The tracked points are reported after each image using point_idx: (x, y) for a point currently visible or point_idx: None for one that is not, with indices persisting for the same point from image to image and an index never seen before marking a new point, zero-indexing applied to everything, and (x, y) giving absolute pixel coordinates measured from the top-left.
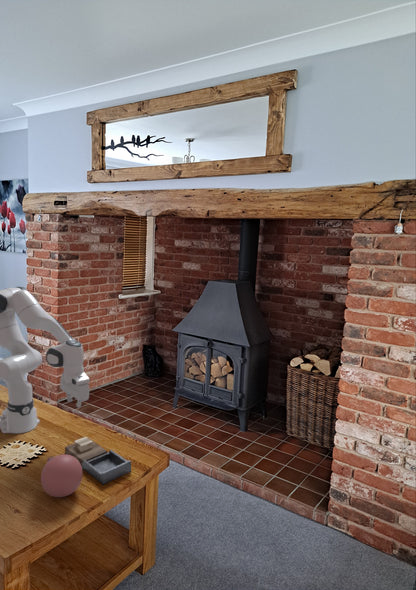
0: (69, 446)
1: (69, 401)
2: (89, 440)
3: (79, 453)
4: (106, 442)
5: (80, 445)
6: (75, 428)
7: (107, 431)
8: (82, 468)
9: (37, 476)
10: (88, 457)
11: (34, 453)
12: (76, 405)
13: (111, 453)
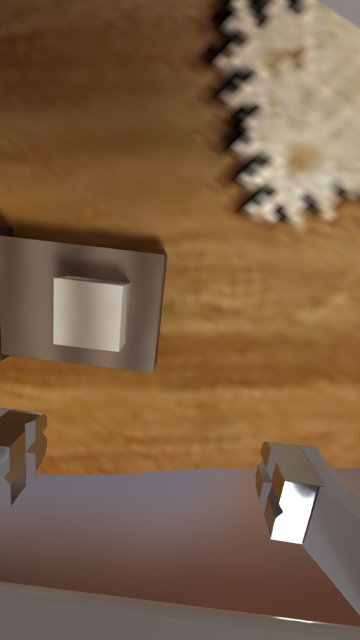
0: (151, 270)
1: (267, 450)
2: (73, 338)
3: (64, 262)
4: (113, 412)
5: (61, 278)
6: (304, 407)
7: (181, 466)
8: (7, 226)
9: (86, 46)
10: (7, 268)
11: (268, 155)
12: (22, 420)
13: None
